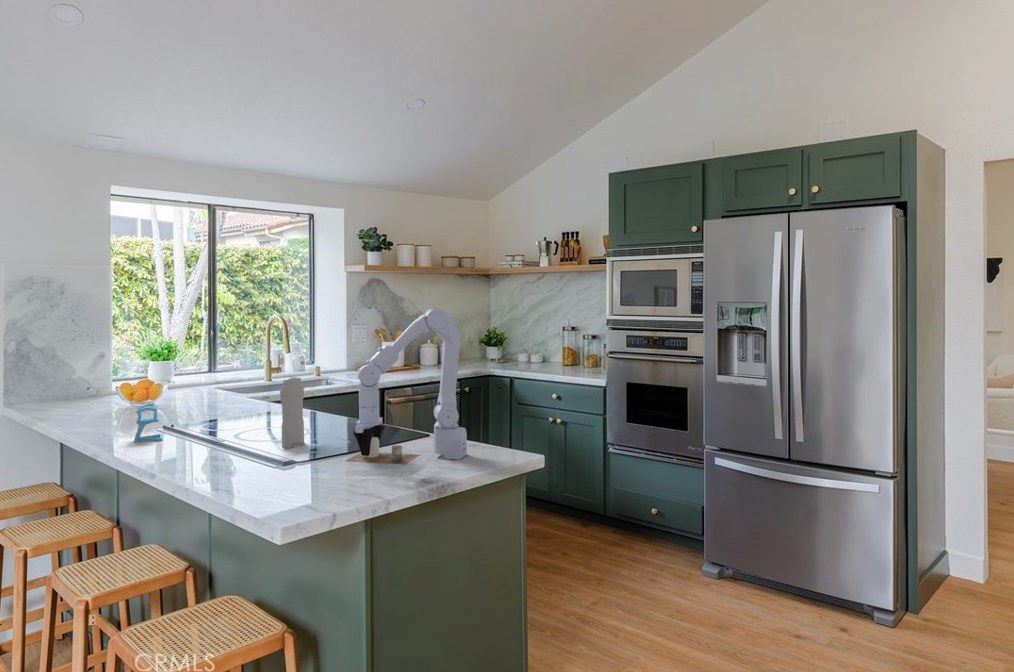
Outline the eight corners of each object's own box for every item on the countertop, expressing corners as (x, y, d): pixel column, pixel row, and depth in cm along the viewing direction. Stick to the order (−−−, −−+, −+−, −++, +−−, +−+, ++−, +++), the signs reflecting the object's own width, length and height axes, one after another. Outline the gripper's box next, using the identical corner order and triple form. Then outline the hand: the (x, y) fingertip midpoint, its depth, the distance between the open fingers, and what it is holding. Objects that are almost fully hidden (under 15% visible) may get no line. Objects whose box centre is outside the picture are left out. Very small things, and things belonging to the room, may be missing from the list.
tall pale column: (287, 449, 219) (285, 379, 218) (276, 448, 221) (275, 378, 219) (309, 443, 229) (308, 375, 228) (299, 442, 230) (298, 375, 229)
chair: (135, 438, 236) (133, 403, 236) (162, 436, 240) (161, 401, 239) (133, 443, 229) (132, 406, 229) (162, 440, 233) (160, 404, 232)
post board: (420, 459, 206) (420, 441, 205) (405, 469, 194) (404, 449, 194) (362, 456, 210) (362, 438, 209) (344, 466, 198) (344, 446, 198)
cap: (381, 453, 207) (381, 436, 206) (374, 457, 202) (374, 440, 202) (365, 453, 208) (365, 436, 208) (358, 456, 203) (357, 439, 203)
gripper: (366, 402, 212) (367, 446, 213) (345, 409, 198) (345, 457, 199) (388, 403, 210) (389, 448, 211) (368, 410, 196) (369, 459, 197)
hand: (369, 452), depth 205 cm, fingers open, 6 cm apart
